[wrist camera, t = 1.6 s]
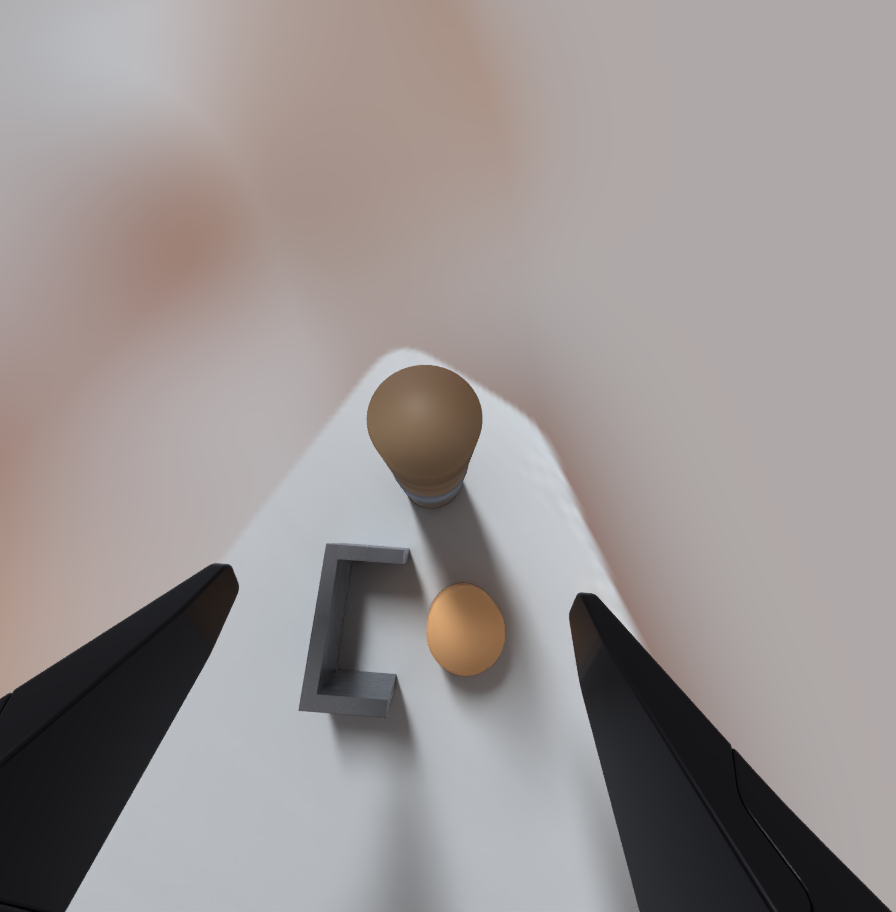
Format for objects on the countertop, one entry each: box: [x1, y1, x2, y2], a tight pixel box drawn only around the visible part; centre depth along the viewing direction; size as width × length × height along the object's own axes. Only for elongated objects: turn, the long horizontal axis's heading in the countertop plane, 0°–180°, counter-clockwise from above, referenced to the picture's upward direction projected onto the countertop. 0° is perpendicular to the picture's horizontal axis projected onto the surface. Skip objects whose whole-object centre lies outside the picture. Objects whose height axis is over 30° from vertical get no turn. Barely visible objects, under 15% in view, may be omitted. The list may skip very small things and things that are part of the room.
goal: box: [299, 543, 409, 718], centre depth 17 cm, size 7×4×3 cm, turn 176°
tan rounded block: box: [427, 583, 505, 676], centre depth 18 cm, size 4×4×2 cm
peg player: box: [367, 365, 482, 508], centre depth 16 cm, size 4×4×11 cm
